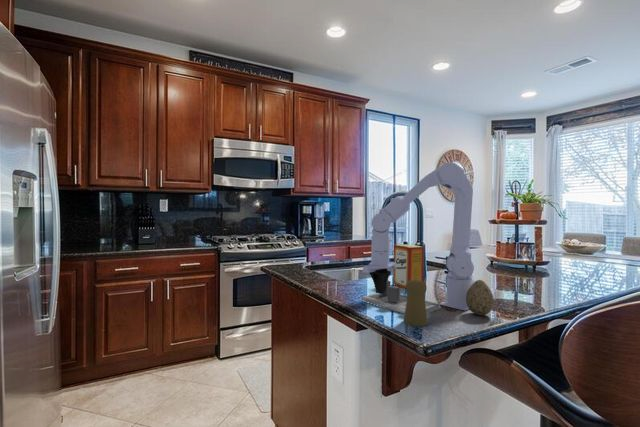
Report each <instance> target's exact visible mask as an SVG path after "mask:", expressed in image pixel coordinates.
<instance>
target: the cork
mask: <svg viewBox="0 0 640 427" xmlns="http://www.w3.org/2000/svg"><path fill="white" fill-rule="evenodd" d="M405 290H406V293H407V292H408V296H407V295H406V296H407V303H406V309H405V314H404V317H403V323H404V322H405V323H404V324H405V325H408V324H409V325H408V326H411V325H413V326H412V327H425V326H427V325H428V316H427V315H428V314H426V306H425V301H426V299H425V298H426V297H425V294H426V292H427V290H428V289H427V283H426V282H425V281H424V280H423V281H420V280H410V281H408V282H407V283H406V289H405Z"/></svg>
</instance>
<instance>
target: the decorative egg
mask: <svg viewBox="0 0 640 427" xmlns="http://www.w3.org/2000/svg"><path fill="white" fill-rule="evenodd" d="M474 281H475V282H474V283H473V284H472V285H471V286H470V287H469V289H468V291H467V294H466V303H467V306H468V308H469V309H468V310H469V311H471V313H473V314H475V315H477V316H486V315H487V314H488V315H489V313H490V312H491V311H492V310H493V307H494V304H495V303H494V302H495V301H494V295H493V293H492V290H491V288H490V287H489V285H488V284H487V283H486V282H485V281H484V280H481V279H477V280H474Z"/></svg>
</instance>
